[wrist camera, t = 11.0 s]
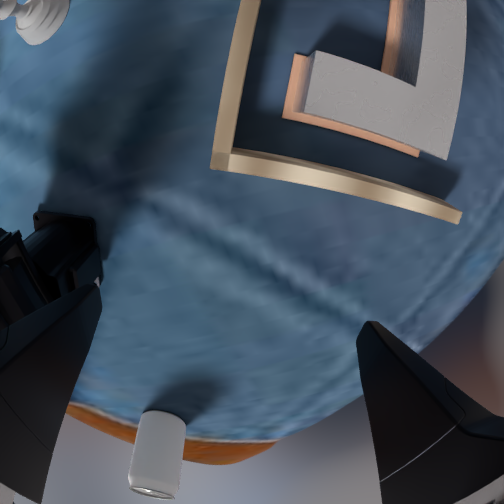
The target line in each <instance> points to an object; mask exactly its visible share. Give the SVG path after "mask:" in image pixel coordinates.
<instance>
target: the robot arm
mask: <svg viewBox="0 0 504 504" xmlns="http://www.w3.org/2000/svg"><path fill="white" fill-rule="evenodd" d="M38 217H39V218H38ZM33 221H34V228H35V231H34V232H33V233H32V234H31V235H29V236H28V237H27V238H26V239H25V240H22V238H21V237H22V235H21V233H20V231H19V230H17V231H15V232H13V233H11V232H6V231H5V230H3V229H2V228H0V504H14V502H13V500H14V495H15V492H17V493H18V494H20V495H22V496H24V497H26V498H28V499H30V500H31V501H34V502H36V503H37V504H41V502H42V497H43V492H44V488H45V483H46V478H47V474H48V470H49V466H50V462H51V459H52V455H53V454H52V453H53V451H54V447H55V444H56V440H57V437H58V433H59V430H60V427H61V424H62V421H63V418H64V415H65V412H66V409H67V406H68V403H69V401H70V398H71V395H72V392H73V390H74V387H75V384H76V382H77V379H78V377H79V374H80V371H81V369H82V366H83V364H84V362H85V359H86V357H87V354H88V352H89V349H90V346H91V343H92V340H93V337H94V333H95V330H96V327H97V324H98V321H99V318H100V315H101V312H102V301H101V295H100V289H99V287H100V285H101V277H100V273H101V264H100V255H99V246H98V244H97V237H96V223H95V221H94V219H93V218H91V217H85V216H77V215H69V214H61V213H53V212H45V211H37V212H35V213H34V215H33ZM88 222H89V223H90V225H91V226H89V225H88ZM95 282H96V283H97V284H96V283H95ZM356 347H357V354H358V362H359V370H360V378H361V383H362V388H363V393H364V397H365V402H366V407H367V411H368V416H369V421H370V427H371V432H372V437H373V443H374V449H375V454H376V461H377V467H378V473H379V480H380V489H381V497H382V504H504V417H500V416H497V415H494V414H493V413H491V412H490V411H488V410H487V409H486V408H484V407H483V406H482V405H480V404H479V403H477V402H476V401H474V400H473V399H472V398H470V397H469V396H468V395H467V394H465V393H464V392H463V391H461V390H460V389H459V388H458V387H456V386H455V385H454V384H453V383H451V382H450V381H449V380H448V379H447V378H444V376H443V375H442V374H441V373H440V372H438V371H437V370H436V369H435V368H434V367H432V366H431V365H430V364H429V363H427V362H426V361H425V360H424V359H423V358H422V357H420V356H419V355H418V354H417V353H416V352H414V351H413V350H412V349H411V348H409V347H408V346H407V345H406V344H405V343H403V342H402V341H401V340H400V339H398V338H397V337H396V336H395V335H394V334H392V333H391V332H390V331H389V330H387V329H386V328H385V327H384V326H382V325H381V324H380V323H379V322H377V321H366V322H365V324H364V325H363V327H362V329H361V331H360V333H359V335H358V337H357V340H356Z"/></svg>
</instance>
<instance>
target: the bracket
mask: <svg viewBox="0 0 504 504" xmlns="http://www.w3.org/2000/svg"><path fill="white" fill-rule="evenodd" d="M466 26H467V7H466V0H398V2H397V13H396V22H395V30H394V38H393V45H392V52H391V59H390V65H389V71H388V75H387V74H385V73H383V72H380V71H378V70H375V69H372V68H370V67H367V66H364V65H362V64H359V63H356V62H353V61H350V60H347V59H344V58H341V57H338V56H335V55H331V54H328V53H324V52H321V51H317V50H316V51H315V52H313V53H312V54H311V55H310V56H308V57H307V58H306V59H305V60H303V61H302V62H301V67H300V72H299V77H298V82H297V87H296V92H295V97H294V102H293V107H292V112H296V113H300V114H305V115H309V116H313V117H317V118H321V119H325V120H329V121H332V122H336V123H340V124H343V125H346V126H350V127H353V128H356V129H360V130H363V131H366V132H369V133H372V134H375V135H378V136H381V137H384V138H387V139H390V140H392V141H395V142H398V143H401V144H403V145H406V146H408V147H411V148H413V149H416V150H419V151H422V152H425V153H428V154H430V155H433V156H436V157H438V158H441V159H444V160H447V157H448V153H449V149H450V145H451V140H452V136H453V132H454V127H455V122H456V117H457V112H458V106H459V100H460V94H461V87H462V80H463V71H464V61H465V49H466Z"/></svg>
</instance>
